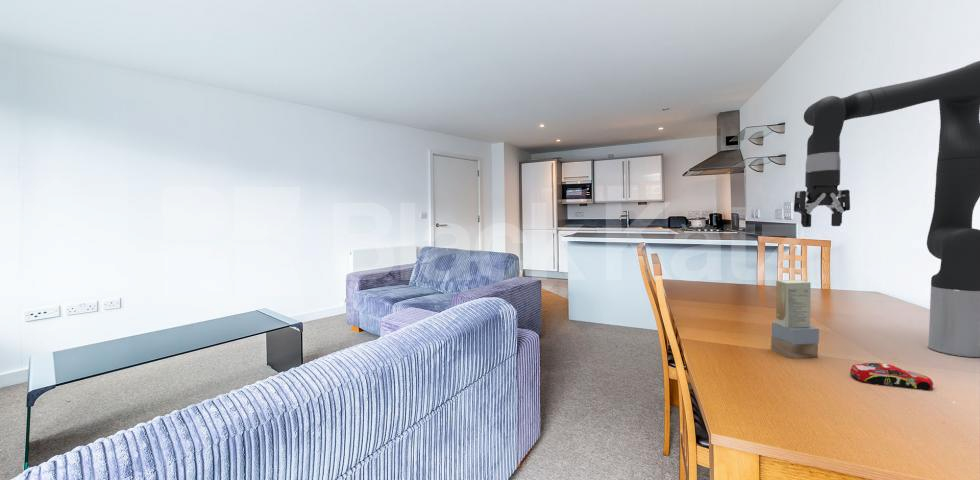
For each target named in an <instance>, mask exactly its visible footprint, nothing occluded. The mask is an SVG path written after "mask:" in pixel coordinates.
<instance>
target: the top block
mask: <svg viewBox="0 0 980 480" xmlns="http://www.w3.org/2000/svg"><path fill="white" fill-rule="evenodd" d="M771 336H772V337H775V338H777V339H780V340H782V341H785V342H787V343H790V344H792V345H795V344H818V345H819V343H820V342H819V341H820V340H819V339H820V329H819V328H817V327H815V326H811V325H810V327H805V328H786V327H783V326H781V325H779V324H777V323H776V321H773V322H771Z"/></svg>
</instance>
